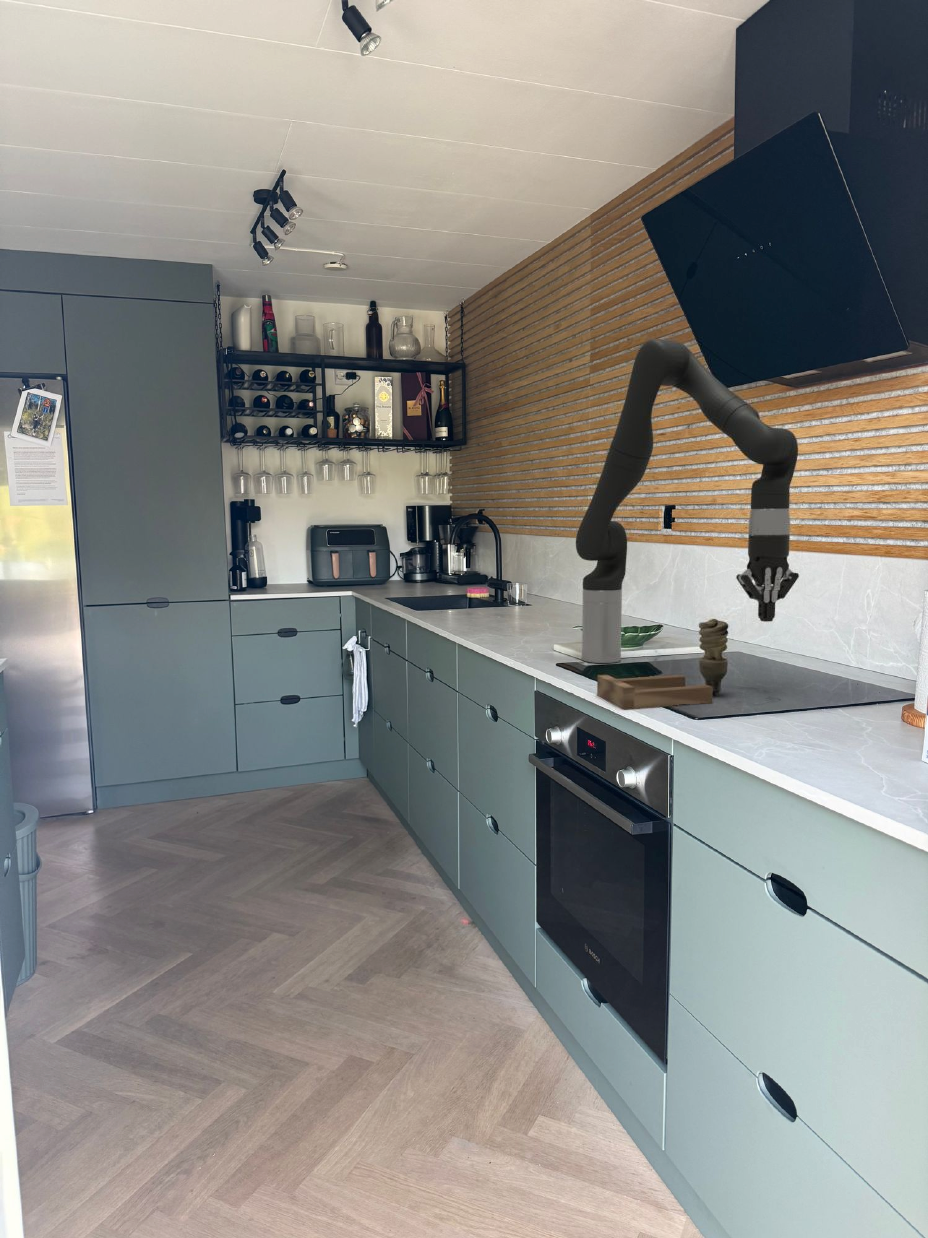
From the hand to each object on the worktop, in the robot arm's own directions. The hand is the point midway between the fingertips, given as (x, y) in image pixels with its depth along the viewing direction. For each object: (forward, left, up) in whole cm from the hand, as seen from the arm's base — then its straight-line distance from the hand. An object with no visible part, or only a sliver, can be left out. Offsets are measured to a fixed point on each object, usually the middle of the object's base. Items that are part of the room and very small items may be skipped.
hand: (766, 621), depth 161 cm
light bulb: (0, -12, -14) cm, 18 cm away
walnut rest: (0, -23, -14) cm, 27 cm away
